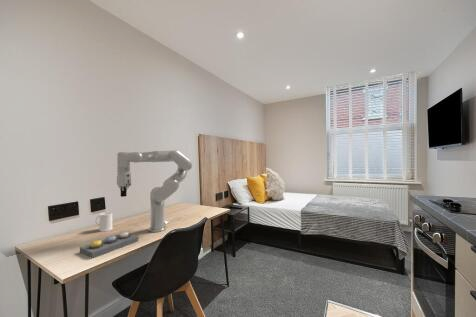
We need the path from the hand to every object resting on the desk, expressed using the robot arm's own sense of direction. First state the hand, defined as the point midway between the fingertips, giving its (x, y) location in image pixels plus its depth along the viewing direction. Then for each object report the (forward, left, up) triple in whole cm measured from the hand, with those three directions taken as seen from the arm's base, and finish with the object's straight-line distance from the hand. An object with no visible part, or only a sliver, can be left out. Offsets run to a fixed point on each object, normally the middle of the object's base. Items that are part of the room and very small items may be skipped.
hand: (123, 196), depth 138 cm
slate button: (+14, +11, -23) cm, 29 cm away
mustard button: (+22, +11, -23) cm, 34 cm away
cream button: (+6, +11, -24) cm, 27 cm away
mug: (0, -25, -27) cm, 37 cm away
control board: (+14, +11, -27) cm, 32 cm away
